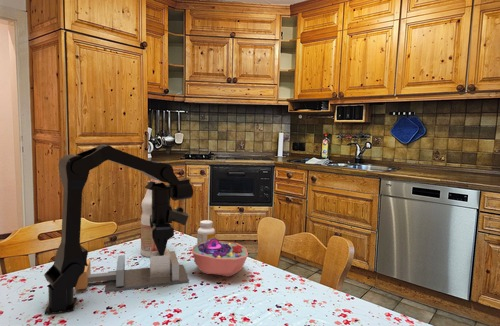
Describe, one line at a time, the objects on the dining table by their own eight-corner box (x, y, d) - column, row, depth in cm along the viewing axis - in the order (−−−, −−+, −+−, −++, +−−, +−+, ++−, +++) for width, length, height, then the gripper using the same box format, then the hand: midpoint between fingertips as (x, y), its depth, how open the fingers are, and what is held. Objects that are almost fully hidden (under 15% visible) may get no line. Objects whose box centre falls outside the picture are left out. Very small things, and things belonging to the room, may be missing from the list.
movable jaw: (123, 285, 97) (123, 269, 97) (73, 291, 93) (73, 274, 92) (124, 269, 108) (124, 255, 108) (80, 273, 104) (80, 258, 104)
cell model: (225, 291, 98) (226, 254, 97) (180, 272, 110) (180, 239, 109) (258, 273, 112) (259, 240, 111) (215, 258, 124) (215, 229, 123)
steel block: (170, 276, 105) (170, 254, 105) (150, 278, 103) (150, 256, 103) (168, 271, 109) (169, 250, 109) (149, 273, 107) (150, 252, 107)
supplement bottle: (216, 252, 130) (216, 220, 129) (212, 258, 124) (213, 224, 123) (199, 250, 131) (200, 219, 130) (195, 256, 125) (195, 223, 123)
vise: (188, 282, 103) (189, 263, 102) (104, 292, 95) (104, 272, 95) (183, 266, 115) (183, 249, 115) (108, 273, 107) (108, 256, 107)
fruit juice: (139, 258, 121) (139, 182, 119) (141, 249, 130) (142, 179, 128) (166, 257, 123) (166, 182, 121) (166, 248, 132) (167, 179, 130)
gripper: (191, 207, 98) (190, 258, 100) (182, 196, 116) (182, 239, 117) (152, 209, 95) (152, 262, 96) (149, 197, 112) (149, 242, 114)
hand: (160, 250), depth 106 cm, fingers open, 9 cm apart
